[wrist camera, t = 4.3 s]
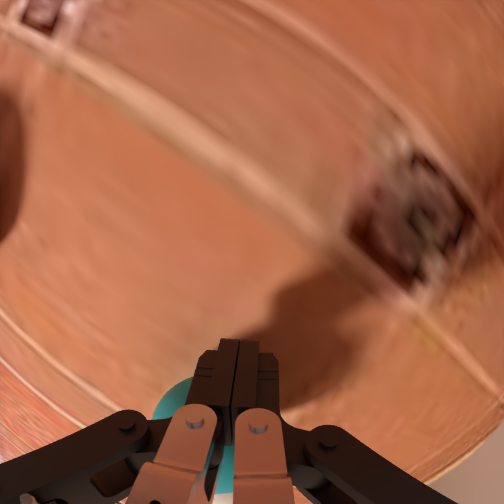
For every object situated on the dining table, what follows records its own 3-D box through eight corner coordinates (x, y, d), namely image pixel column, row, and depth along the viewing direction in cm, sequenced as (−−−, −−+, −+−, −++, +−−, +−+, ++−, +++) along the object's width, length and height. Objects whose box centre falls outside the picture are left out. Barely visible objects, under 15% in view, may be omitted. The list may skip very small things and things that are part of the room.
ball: (125, 388, 9) (133, 496, 9) (295, 421, 9) (268, 526, 8) (177, 348, 15) (173, 437, 15) (290, 366, 15) (273, 455, 14)
